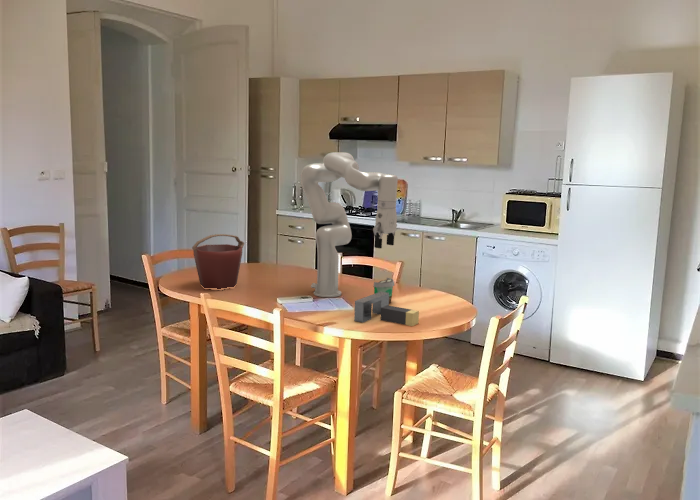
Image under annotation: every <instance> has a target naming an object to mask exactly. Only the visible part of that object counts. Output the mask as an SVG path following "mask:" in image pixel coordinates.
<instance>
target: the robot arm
mask: <svg viewBox="0 0 700 500" xmlns="http://www.w3.org/2000/svg"><path fill="white" fill-rule="evenodd" d="M359 169H360V167H359V163H358V162H357V161H355V159H354V157H353V155H352V154H351V153H349V152H345V151H342V152H335V151H334V152H333V151H332V152H329V153H327V154H326V155H325V156H324V157H323V161H322V163H319V162H318V163H310V164H307V165H305V166H303V168H302V170H301V172H300V173H301V174H300V183H301V187H302V190H303V191H304V194H305V196H306V199H307V202H308V205H309V209H310V212H311V215H312V218H313V221H314V223H316V224H318V225H324V226H320V227H319V228H318V229H317V230H316V232H315V242H316V248H317V250H316V251H317V267H316V269H317V271H316V272H317V273H316V274H317V278H316V281H317V282H316V283H315V282H312V283H311V285H310V288H311V289H314V291H313V295H314V296H316V297H320V298H335V297H336V298H337V297H340V296H341V295H342V291H341V290H339V263H340V262H339V258H340V257H339V253H338V251H337V249H336V247H338V246H344V245H348V244H349V243H350V242H351V240H352V237H353V235H352V229H351V226H350V222H349V220H348V215H347V213H346V210H345V207H344V206H343V205H342V204H341V203H340V202H336V201H335V202H334V201H333V202H330V201H329V200H328V198H327V195H326V192H325V190H324V189H323V187H322V186H321V185H319V184H320V183H331V182H332V183H333V182H335V181H338V180H339V179H341V178H343V179H344V181H345V182H346V183H347V185H348V186H350V187H351V188H354V189H356V190H358V191H362V192H371V191H373V192H374V191H376V192H377V205H376V206H377V207H376V208H377V211H376V215H375V225H374V227H373V228H372V231H373V238H374V242H373V243H374V246H373V247H374V248H376V249H382V248H383V238H382V237H383V235H384V234H385V235H386V245H387V246H388V245H389V246H394V245H395V236H396V231H397V227H398V224H397V222H398V221H397V218H398V217H397V208H396V207H397V195H398V183H399V182H398V176H397V175H395V174H388V173H387V174H386V173H384V172H379V171H378V172H377V171H375V172H374V171H373V172H372V171H371V172H369V171H368V172H367V171H366V172H363V171H360V170H359ZM326 224H330V225H326Z"/></svg>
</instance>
